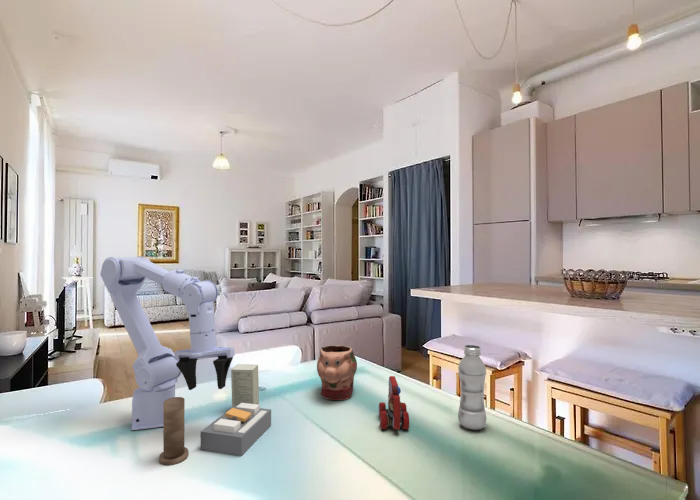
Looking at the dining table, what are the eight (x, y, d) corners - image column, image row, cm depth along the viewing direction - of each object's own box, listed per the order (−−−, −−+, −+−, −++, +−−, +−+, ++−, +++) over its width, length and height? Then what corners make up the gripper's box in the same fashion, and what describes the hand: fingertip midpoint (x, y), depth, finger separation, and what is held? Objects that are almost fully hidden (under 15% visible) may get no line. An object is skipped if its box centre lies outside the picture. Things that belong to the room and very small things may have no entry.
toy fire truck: (381, 436, 88) (381, 392, 88) (378, 412, 100) (378, 374, 100) (411, 436, 88) (411, 392, 87) (404, 412, 100) (404, 374, 100)
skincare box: (259, 408, 102) (259, 364, 102) (253, 415, 98) (253, 369, 98) (237, 407, 103) (237, 363, 103) (230, 414, 98) (230, 368, 98)
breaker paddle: (224, 419, 86) (225, 413, 86) (231, 413, 89) (232, 407, 89) (243, 425, 85) (244, 418, 85) (250, 419, 88) (251, 412, 88)
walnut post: (156, 467, 75) (156, 407, 75) (162, 452, 80) (162, 397, 80) (186, 463, 76) (186, 404, 76) (190, 448, 82) (190, 394, 82)
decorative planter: (321, 380, 124) (321, 338, 124) (357, 381, 123) (357, 339, 123) (312, 406, 104) (312, 356, 104) (356, 407, 103) (356, 357, 103)
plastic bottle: (488, 435, 88) (489, 351, 88) (458, 432, 90) (459, 349, 89) (484, 422, 95) (484, 344, 94) (456, 419, 96) (457, 342, 96)
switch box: (200, 449, 81) (200, 425, 81) (235, 420, 95) (235, 399, 95) (241, 456, 79) (241, 430, 79) (271, 425, 92) (271, 403, 92)
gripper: (164, 336, 87) (168, 395, 86) (222, 333, 84) (227, 393, 84) (183, 330, 94) (186, 384, 93) (236, 327, 91) (241, 382, 91)
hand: (207, 388), depth 89 cm, fingers open, 7 cm apart
